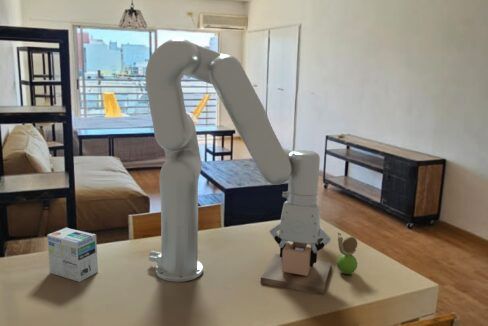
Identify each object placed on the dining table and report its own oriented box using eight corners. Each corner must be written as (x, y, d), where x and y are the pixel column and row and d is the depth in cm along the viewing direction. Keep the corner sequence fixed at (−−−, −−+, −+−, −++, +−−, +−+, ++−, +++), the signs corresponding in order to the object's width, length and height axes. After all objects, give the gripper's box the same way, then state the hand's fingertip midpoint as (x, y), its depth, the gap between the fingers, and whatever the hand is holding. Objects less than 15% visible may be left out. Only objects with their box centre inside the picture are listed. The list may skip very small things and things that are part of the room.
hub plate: (260, 282, 112) (261, 257, 111) (275, 258, 127) (276, 235, 126) (322, 294, 108) (325, 268, 106) (330, 267, 123) (332, 244, 121)
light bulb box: (98, 272, 115) (97, 233, 113) (79, 283, 109) (77, 242, 107) (68, 263, 119) (66, 226, 117) (48, 273, 113) (45, 234, 111)
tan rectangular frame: (281, 271, 114) (282, 249, 113) (288, 258, 122) (289, 238, 121) (307, 275, 112) (308, 254, 111) (312, 262, 120) (314, 241, 119)
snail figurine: (329, 270, 121) (332, 229, 118) (348, 267, 123) (352, 226, 121) (341, 279, 116) (344, 236, 113) (360, 275, 118) (364, 233, 116)
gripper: (265, 198, 112) (262, 262, 116) (334, 207, 107) (328, 274, 111) (273, 190, 119) (269, 252, 123) (337, 198, 114) (332, 262, 118)
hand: (297, 261), depth 117 cm, fingers open, 7 cm apart
